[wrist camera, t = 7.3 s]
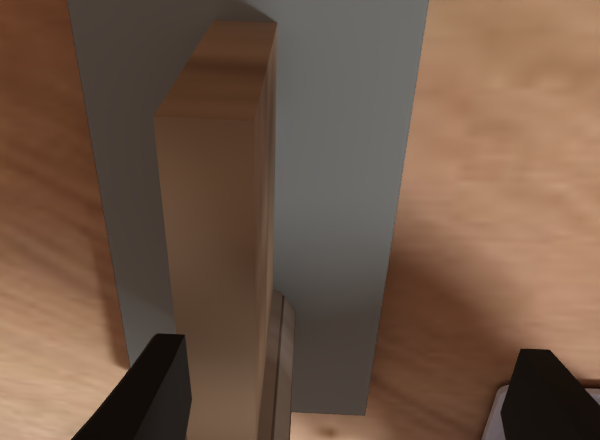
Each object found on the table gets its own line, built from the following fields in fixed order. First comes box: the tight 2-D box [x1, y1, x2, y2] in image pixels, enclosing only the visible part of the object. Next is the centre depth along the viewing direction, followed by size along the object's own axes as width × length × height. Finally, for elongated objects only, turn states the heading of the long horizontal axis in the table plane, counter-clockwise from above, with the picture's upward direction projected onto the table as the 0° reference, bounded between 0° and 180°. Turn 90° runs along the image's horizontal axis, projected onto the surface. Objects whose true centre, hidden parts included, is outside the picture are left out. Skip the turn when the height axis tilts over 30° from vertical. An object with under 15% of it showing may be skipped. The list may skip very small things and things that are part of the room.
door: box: [153, 20, 296, 440], centre depth 17 cm, size 13×4×7 cm, turn 178°
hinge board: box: [67, 0, 429, 416], centre depth 20 cm, size 18×10×4 cm, turn 178°
